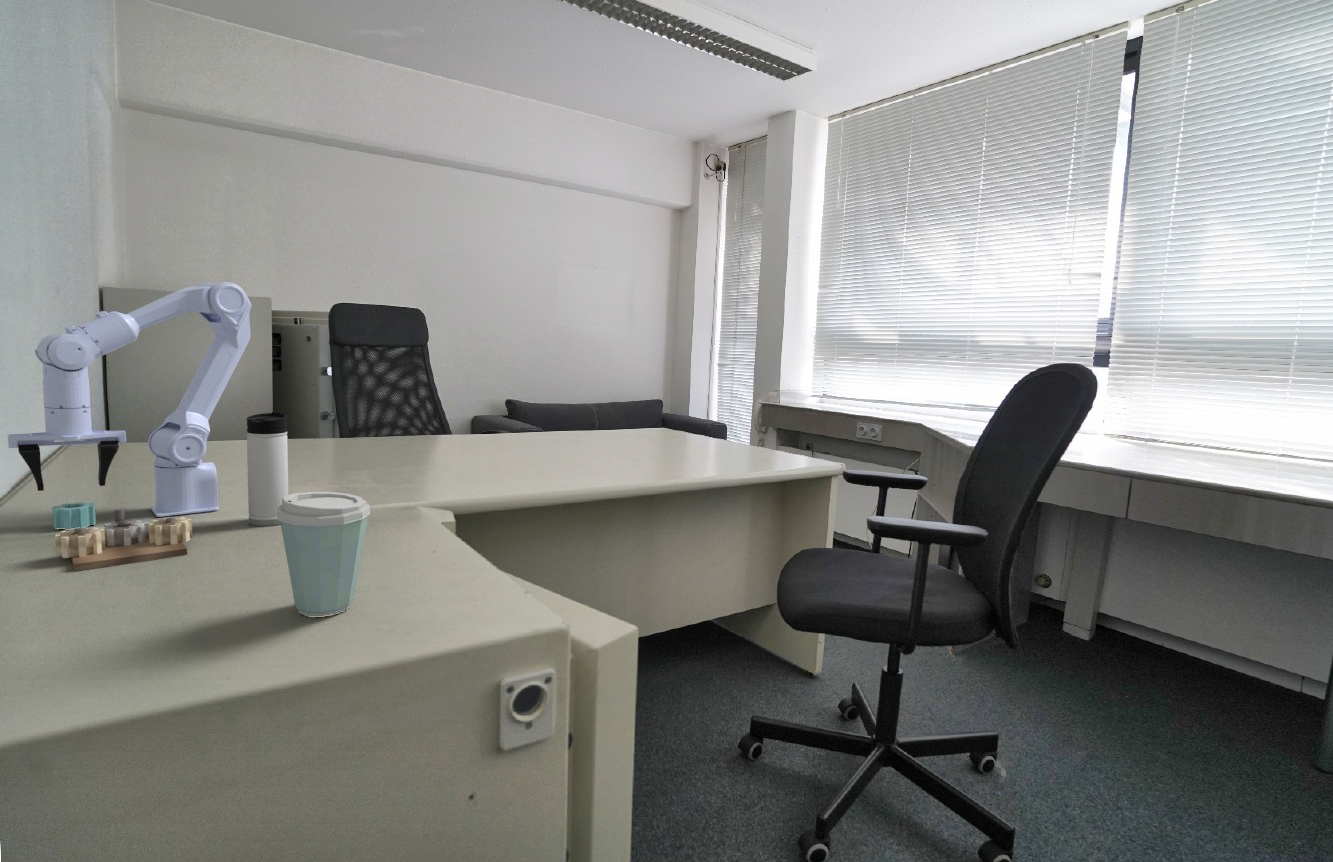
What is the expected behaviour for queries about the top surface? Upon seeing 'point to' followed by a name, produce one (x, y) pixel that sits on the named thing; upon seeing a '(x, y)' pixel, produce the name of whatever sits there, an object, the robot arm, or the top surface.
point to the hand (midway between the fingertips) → (72, 487)
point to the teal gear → (74, 515)
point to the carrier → (124, 542)
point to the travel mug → (266, 466)
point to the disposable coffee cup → (323, 548)
